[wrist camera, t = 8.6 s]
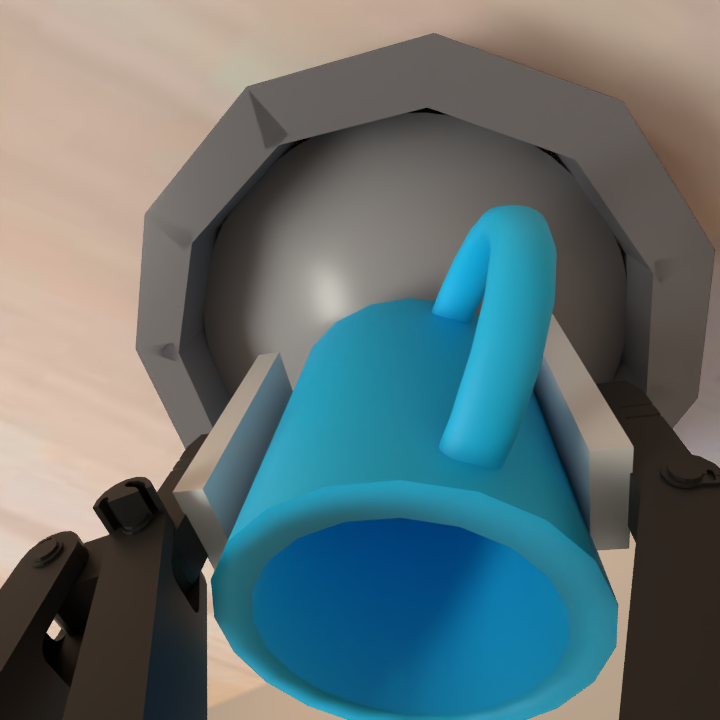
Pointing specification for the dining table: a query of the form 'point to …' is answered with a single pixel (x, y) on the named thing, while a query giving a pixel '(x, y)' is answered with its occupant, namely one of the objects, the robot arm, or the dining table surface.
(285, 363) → the holder ring
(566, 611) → the mug
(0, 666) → the robot arm
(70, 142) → the dining table surface
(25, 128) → the dining table surface
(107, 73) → the dining table surface
